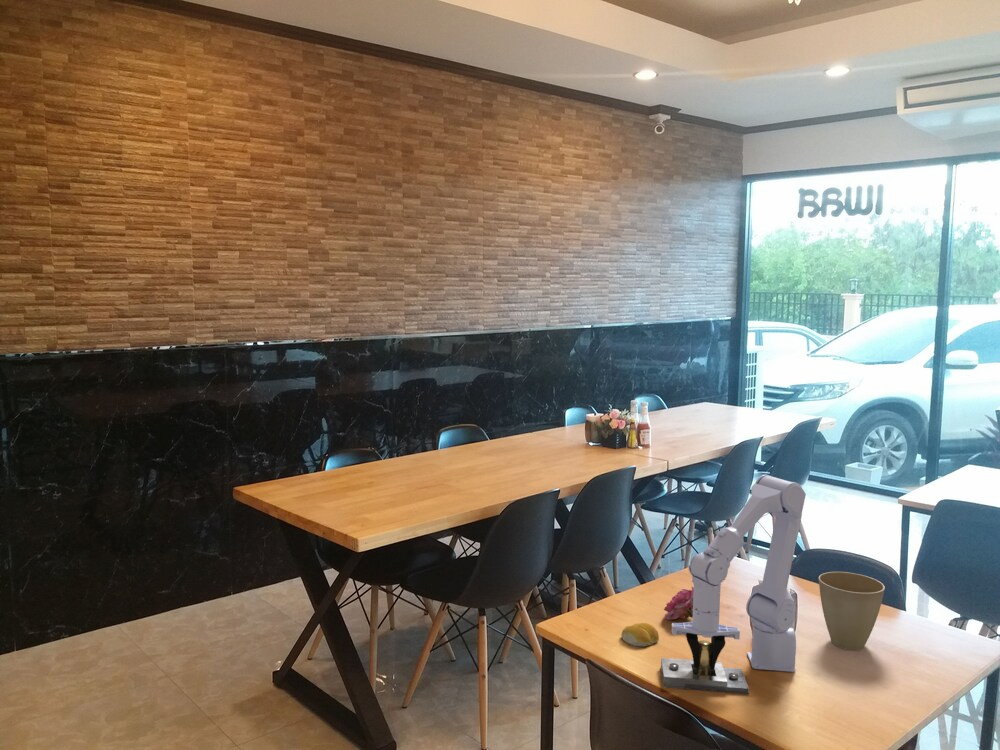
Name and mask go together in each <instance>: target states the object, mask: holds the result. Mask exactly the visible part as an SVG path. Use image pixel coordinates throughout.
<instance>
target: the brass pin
mask: <svg viewBox="0 0 1000 750" xmlns="http://www.w3.org/2000/svg"><path fill="white" fill-rule="evenodd" d="M698 642H699V645H698V668H697V674H698V675H704V676H710V674H711V649H712V644H711V641H708V640H703V639H702V640H698Z"/></svg>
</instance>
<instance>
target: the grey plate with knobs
mask: <svg viewBox="0 0 1000 750" xmlns="http://www.w3.org/2000/svg"><path fill="white" fill-rule="evenodd" d="M660 671H661V677H662V683H663V688H671V689H681V690H683V689H684V690H696V691H709V692H717V693H718V692H719V693H732V694H744V695H749V694H750V693H749V689H750V688H749V686H748V684H747V683H748V682H747V680H746V677H745V675H744V672H743V669H742V668H738V667H737V668H736V667H735V668H734V667H724V665H723V663H722V661H721V662H720V661H716V664H715V668H714V669H711V674H710V676H704V675H698V674H697V668H694V664H693V659H683V658H671V657H670V658H668V657H661V659H660Z"/></svg>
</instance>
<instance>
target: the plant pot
mask: <svg viewBox="0 0 1000 750" xmlns="http://www.w3.org/2000/svg"><path fill="white" fill-rule="evenodd" d="M818 585H819V595H820V602H821V607H822V613H823V617H824V622H825V625H826V629H827V632H828V634H829V637H830V641H831V643H832V644H833V645H835V646H836V647H838V648H841V649H845V650H849V651H860V650H862V649H864V648H865V646H866V644H867V642H868V641H869V638H870V636H871V634H872V632H873V630H874V626H875V624H876V621H877V620H878V615H879V613H880V610H881V606H882V603H883V599H884V594H885V589H886V586H885V585H884V583H882V582H881V581H879V580H878V579H876V578H873V577H870V576H867V575H864V574H859V573H853V572H847V571H829V572H825V573H824V572H823V573H822V574H820V575H819V576H818Z"/></svg>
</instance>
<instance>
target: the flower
mask: <svg viewBox="0 0 1000 750" xmlns="http://www.w3.org/2000/svg"><path fill="white" fill-rule="evenodd" d="M693 593H694V586H691V589H685V588H684V589H683V588H682V589H681V590H679V591H678V592H677V593H676V594H675V595H674V596H672V597H671V600H670V601H669V602H666V606H665V607H664V608H663V611H665V612H666V613H665V614H664V616H663V617H664V619H665V620H668V621H672V620H676V619H678V618H681V619H682V618H685V617H686V616H687V617H689V618H691V619H693Z"/></svg>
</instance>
